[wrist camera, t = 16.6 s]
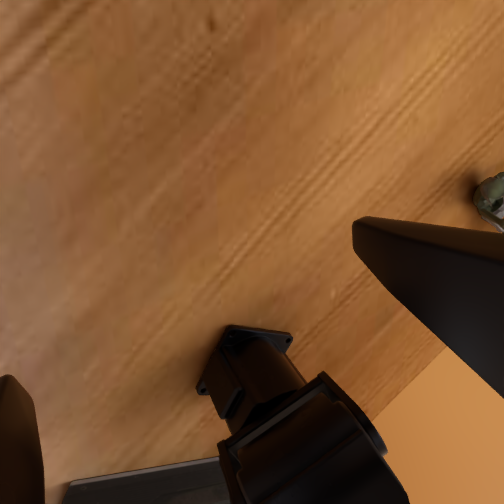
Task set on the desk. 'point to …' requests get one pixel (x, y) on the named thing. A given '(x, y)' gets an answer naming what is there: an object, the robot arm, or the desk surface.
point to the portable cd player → (155, 486)
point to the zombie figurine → (491, 201)
